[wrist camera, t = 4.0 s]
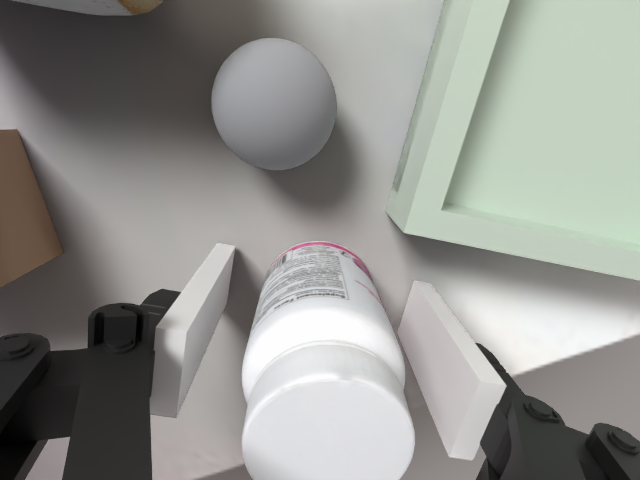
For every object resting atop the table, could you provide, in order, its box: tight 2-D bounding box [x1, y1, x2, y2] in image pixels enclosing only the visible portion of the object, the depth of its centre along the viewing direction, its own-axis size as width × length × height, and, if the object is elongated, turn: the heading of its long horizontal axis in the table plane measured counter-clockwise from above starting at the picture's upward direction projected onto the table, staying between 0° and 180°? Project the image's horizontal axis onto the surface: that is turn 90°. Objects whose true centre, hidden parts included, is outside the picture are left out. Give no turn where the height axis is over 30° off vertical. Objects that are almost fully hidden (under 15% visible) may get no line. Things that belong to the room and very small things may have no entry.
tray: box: [386, 0, 640, 281], centre depth 13 cm, size 12×12×3 cm
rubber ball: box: [211, 38, 337, 170], centre depth 12 cm, size 4×4×4 cm
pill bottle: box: [242, 241, 415, 480], centre depth 12 cm, size 5×5×8 cm
